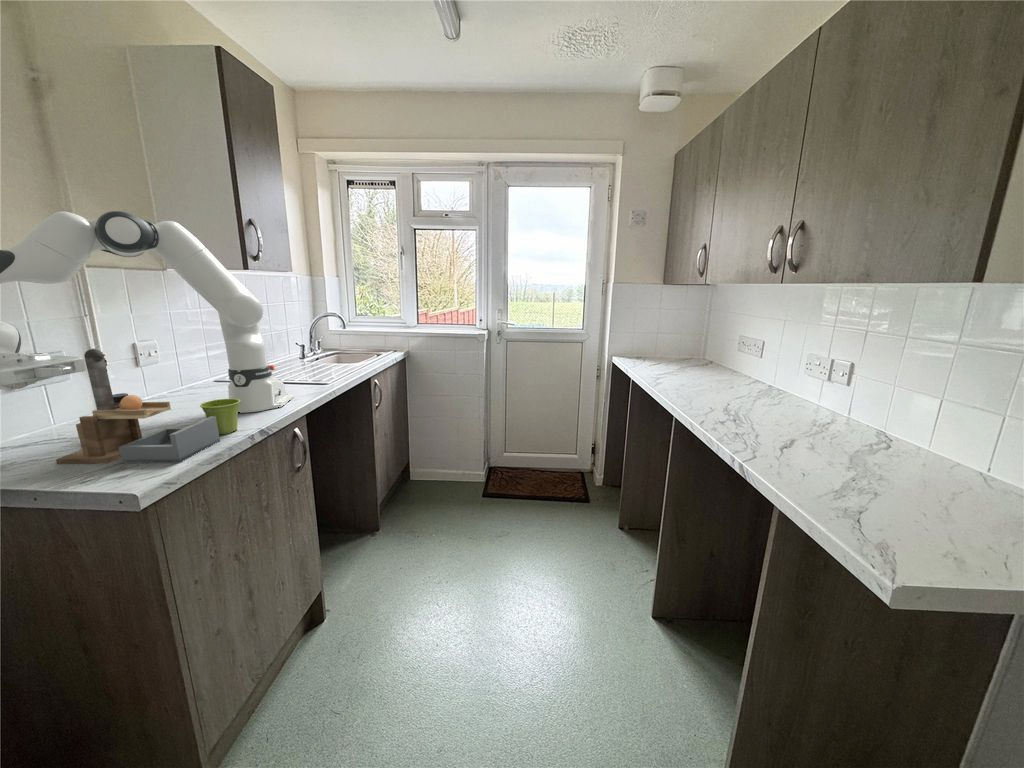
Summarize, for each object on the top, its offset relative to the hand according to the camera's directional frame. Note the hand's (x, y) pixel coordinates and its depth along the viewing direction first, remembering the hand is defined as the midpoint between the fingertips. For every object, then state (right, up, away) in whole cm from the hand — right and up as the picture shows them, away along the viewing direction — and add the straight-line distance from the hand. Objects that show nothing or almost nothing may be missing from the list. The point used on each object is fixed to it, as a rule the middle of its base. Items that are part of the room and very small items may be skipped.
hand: (66, 370), depth 100 cm
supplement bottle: (-3, -17, +19) cm, 26 cm away
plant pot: (+25, -17, +19) cm, 36 cm away
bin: (+22, -20, +5) cm, 30 cm away
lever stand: (+6, -20, +4) cm, 22 cm away
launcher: (+13, -11, +3) cm, 18 cm away
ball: (+14, -8, +2) cm, 16 cm away
